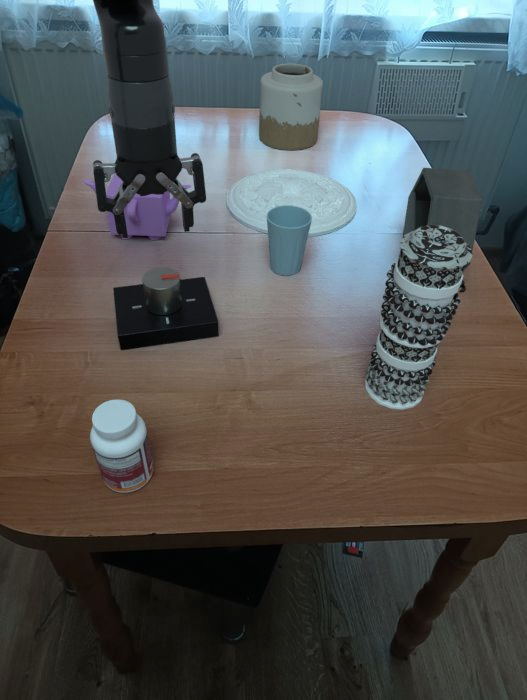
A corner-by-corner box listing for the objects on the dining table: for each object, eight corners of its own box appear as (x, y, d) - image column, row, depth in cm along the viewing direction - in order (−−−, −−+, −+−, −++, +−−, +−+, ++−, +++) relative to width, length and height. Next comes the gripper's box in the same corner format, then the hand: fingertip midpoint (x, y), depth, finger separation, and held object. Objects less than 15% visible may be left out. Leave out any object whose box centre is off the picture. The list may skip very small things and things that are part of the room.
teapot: (125, 258, 99) (116, 203, 91) (91, 227, 106) (80, 174, 98) (194, 231, 106) (191, 179, 99) (157, 204, 113) (152, 154, 106)
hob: (120, 350, 81) (117, 334, 79) (115, 301, 89) (112, 286, 87) (218, 336, 84) (218, 321, 82) (205, 290, 92) (204, 275, 90)
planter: (401, 210, 106) (432, 147, 86) (440, 213, 105) (481, 151, 85) (399, 292, 102) (432, 246, 82) (440, 295, 102) (483, 250, 81)
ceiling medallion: (224, 236, 105) (224, 222, 103) (227, 172, 126) (227, 158, 123) (366, 238, 107) (369, 224, 104) (346, 174, 127) (348, 161, 125)
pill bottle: (121, 445, 69) (107, 386, 61) (163, 462, 67) (154, 404, 59) (91, 483, 64) (72, 425, 57) (135, 503, 63) (121, 446, 55)
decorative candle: (382, 355, 82) (420, 207, 65) (437, 385, 78) (494, 234, 61) (349, 389, 77) (382, 237, 60) (407, 422, 73) (460, 269, 56)
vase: (257, 149, 135) (259, 77, 124) (260, 125, 147) (262, 58, 135) (318, 152, 135) (325, 81, 124) (316, 128, 147) (323, 61, 135)
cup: (256, 262, 99) (258, 211, 92) (290, 251, 102) (294, 201, 95) (279, 284, 95) (283, 232, 87) (314, 271, 98) (320, 220, 91)
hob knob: (146, 316, 82) (142, 288, 79) (145, 294, 86) (141, 266, 83) (183, 313, 83) (181, 285, 79) (180, 291, 87) (178, 264, 83)
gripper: (196, 99, 69) (201, 214, 80) (80, 105, 66) (102, 223, 77) (206, 122, 64) (210, 241, 75) (81, 129, 61) (105, 252, 72)
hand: (155, 232), depth 76 cm, fingers open, 8 cm apart
